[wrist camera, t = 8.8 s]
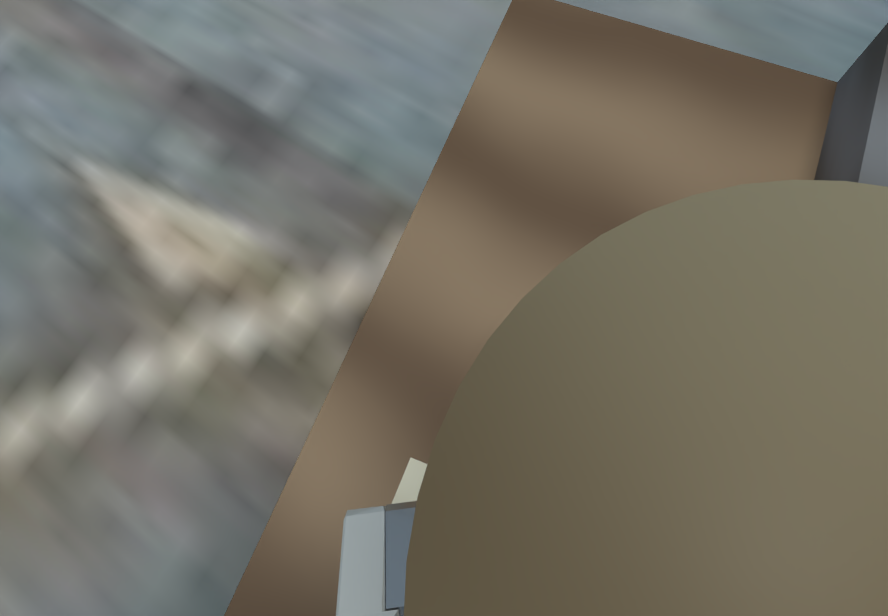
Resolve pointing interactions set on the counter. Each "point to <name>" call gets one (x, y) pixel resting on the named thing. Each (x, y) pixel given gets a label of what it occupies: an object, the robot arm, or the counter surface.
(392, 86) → the counter surface
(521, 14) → the board
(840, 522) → the stamp
